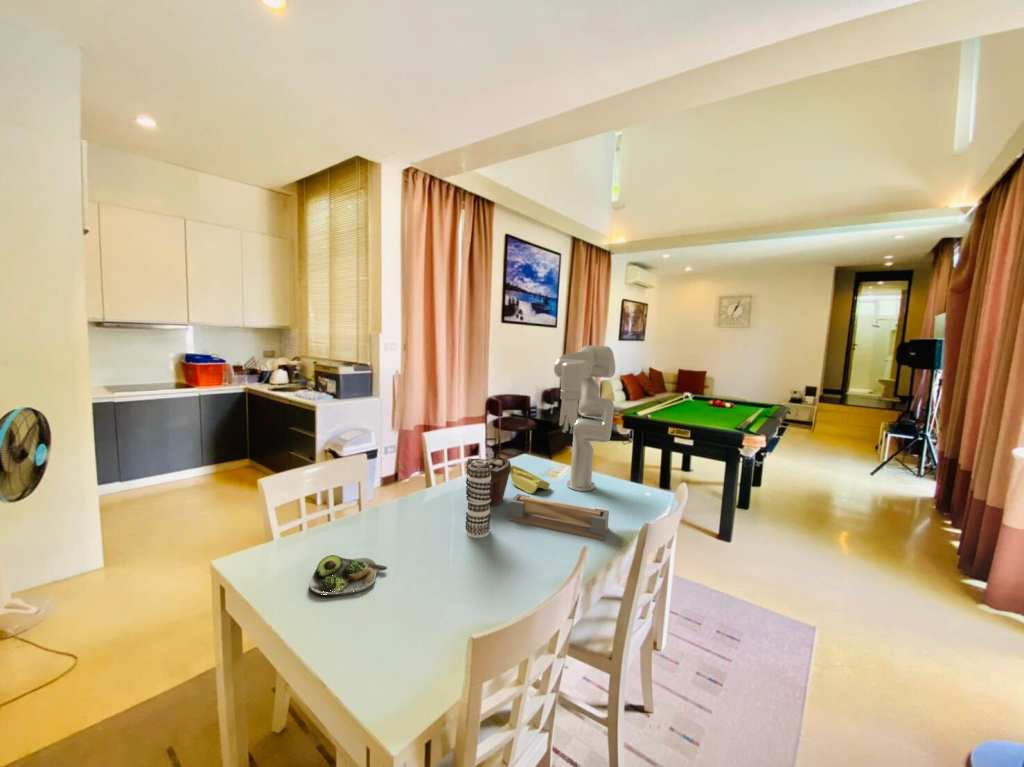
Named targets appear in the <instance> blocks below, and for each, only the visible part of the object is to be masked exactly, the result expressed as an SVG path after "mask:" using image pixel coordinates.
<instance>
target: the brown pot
mask: <svg viewBox="0 0 1024 767" xmlns="http://www.w3.org/2000/svg"><path fill="white" fill-rule="evenodd" d="M475 460H485V461H487V462H488V463H489V464H490V465H491V466H492V468H491V481H492V482H493V484H492V485H491V486H492V487H493V488H492V489H491V490H490V491H491V492H492V494H491V497H492V498H491V501H490V504H489V507H493V506H497V505H500V504H502V503H503V501H504V496H505V492H506V488H507V486H508V485H507V484H508V480H509V477H510V473H511V469H512V468H511V465H512V464H511V461H510V460H509V459H508V458H503V457H498V458H490V459H484V458H483V459H482V458H471V457H470V458H467V461H466V467H465V468H466V476H467V477H468V474H469V467H468V465H470V464H471V463H472V462H473V461H475Z"/></svg>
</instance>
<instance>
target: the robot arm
mask: <svg viewBox="0 0 1024 767" xmlns="http://www.w3.org/2000/svg"><path fill="white" fill-rule="evenodd" d="M553 372H554V374H555V376H556V377H557V378H558V379H561V380H560V400H561V404H560V405H561V406H560V414H559V426H560V427H562V426H563V428H564V430H563V432H564V433H563V443H564V444H571V445H572V448H571V449H572V450H571V451H572V452H571V468H570V479H569V480H568V481H566V486H567V488H569V489H571V490H573V491H577V492H590V491H592V490H595V484H594V483H593V482H592V480H593V479H592V478H593V464H594V448H593V444H592V443H591V442H597V443H608V442H609V441H610V439H611V436H612V430H613V429H612V428H613V422H614V420H613V419H614V412H615V411H614V410H615V405H614V402H613V400H612V399H610V398H607V397H600V390H601V388H600V386H599V384H598V382H597V381H596V380H595V379H594V378H602V379H603V378H607V379H611V378H612V377H614V376H615V373H616V361H615V355H614V351H613V350H612V348H611V347H610V346H605V345H585V346H582V348H581V349H580V350H579V351H575V352H571V353H567V354H563V355H561V356H559V357H558V358H557V360H556V361H555V363H554V366H553ZM579 415H580V416H582V417H585V418H578V416H579ZM590 418H592V419H590ZM597 419H601V420H597Z"/></svg>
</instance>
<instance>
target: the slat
mask: <svg viewBox="0 0 1024 767" xmlns="http://www.w3.org/2000/svg"><path fill="white" fill-rule="evenodd" d="M519 501H522V502H525V503H524V513H529V514H534V515H539V516H544V517H549V518H554V519H559V520H564V521H569V522H574V523H578V524H583V525H588V526H591V516H592V515H595V516H601V511H600V510H595V508H588V507H583V506H578V505H572V504H567V503H561V502H556V501H552V500H545V499H539V498H534V497H531V496H530V497H525V496H521V497H520V498H519Z"/></svg>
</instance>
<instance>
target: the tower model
mask: <svg viewBox="0 0 1024 767" xmlns="http://www.w3.org/2000/svg"><path fill="white" fill-rule="evenodd" d="M468 467H469V474H468V476H467V477H466V480H465V485H466V486H465V488H466V489H465V494H466V502H467V507H466V512H465V534H466V535H467V536H468V537H471V538H477V539H482V538H485V537H487V536H489V535H490V532H491V531H490V529H491V521H490V520H491V506H489V504H490V501H491V498H492V497H491V494H492V492H491V491H490V490H491V489H492V488H493V487H492V486H491V485H492V484H493V482H492V481H491V468H492V466H491V465H490V464H489V463H488V462H487V461H485V460H475V461H473V462H472V463H471V464H470V465H468Z"/></svg>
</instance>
